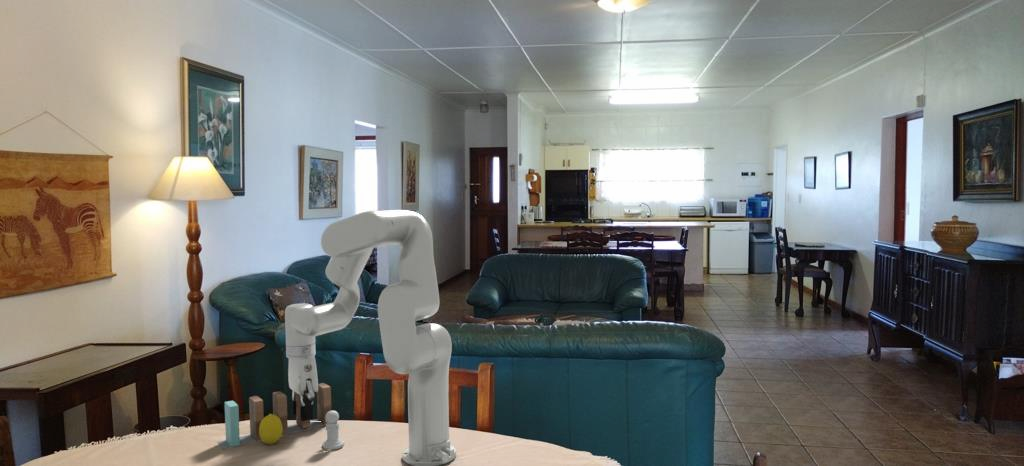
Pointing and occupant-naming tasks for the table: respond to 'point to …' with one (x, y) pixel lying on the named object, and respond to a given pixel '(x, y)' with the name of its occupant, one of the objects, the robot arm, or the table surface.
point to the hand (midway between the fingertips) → (302, 416)
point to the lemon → (270, 429)
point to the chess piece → (332, 431)
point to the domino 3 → (298, 418)
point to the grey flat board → (291, 429)
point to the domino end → (232, 423)
